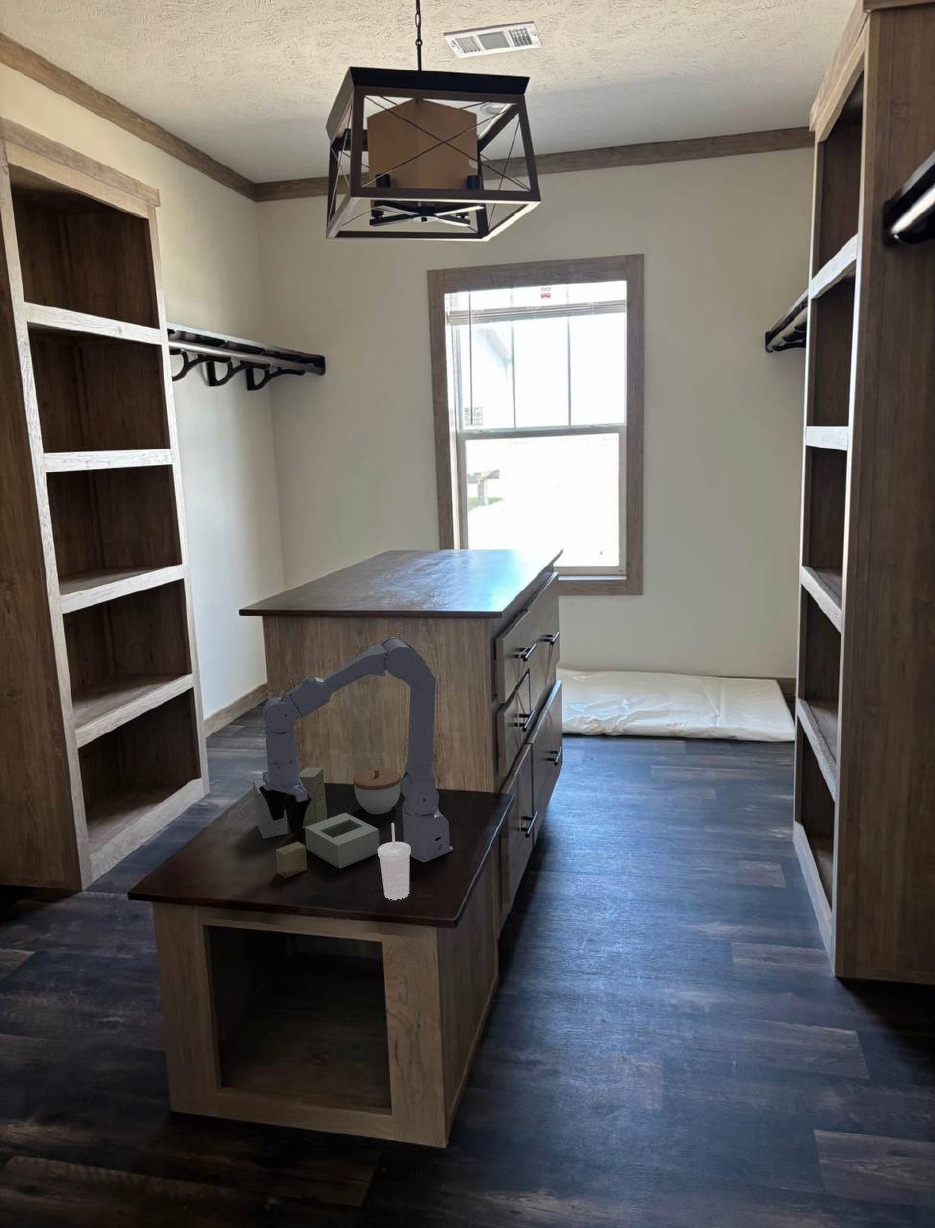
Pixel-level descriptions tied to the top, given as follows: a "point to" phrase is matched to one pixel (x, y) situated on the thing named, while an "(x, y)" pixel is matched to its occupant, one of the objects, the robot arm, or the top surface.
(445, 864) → the top surface
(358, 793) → the lidded jar
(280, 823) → the small box
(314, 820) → the skincare box
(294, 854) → the wooden rectangular block
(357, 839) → the slot box
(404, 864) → the beverage cup
